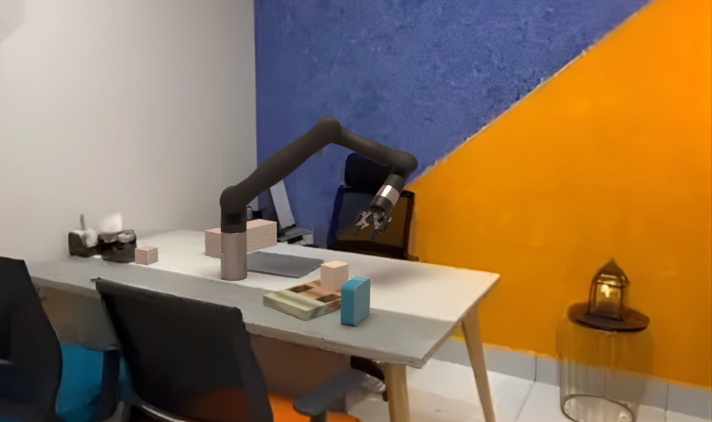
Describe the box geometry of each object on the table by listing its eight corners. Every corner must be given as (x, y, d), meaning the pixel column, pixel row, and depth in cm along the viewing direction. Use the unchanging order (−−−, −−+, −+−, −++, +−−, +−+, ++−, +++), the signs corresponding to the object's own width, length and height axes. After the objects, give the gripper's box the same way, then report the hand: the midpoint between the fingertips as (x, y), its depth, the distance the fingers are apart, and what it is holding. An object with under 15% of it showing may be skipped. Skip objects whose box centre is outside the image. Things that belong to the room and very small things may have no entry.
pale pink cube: (158, 261, 233) (157, 247, 232) (147, 265, 227) (147, 250, 226) (146, 260, 235) (145, 245, 234) (135, 263, 230) (134, 248, 229)
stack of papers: (259, 241, 270) (259, 218, 268) (276, 245, 264) (276, 222, 262) (205, 255, 244) (204, 230, 242) (223, 260, 238) (222, 234, 236)
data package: (356, 311, 182) (357, 274, 180) (369, 314, 181) (371, 276, 178) (340, 324, 171) (340, 285, 169) (354, 327, 170) (355, 287, 168)
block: (335, 283, 200) (335, 260, 199) (348, 287, 196) (348, 264, 195) (320, 287, 195) (320, 264, 194) (333, 291, 191) (333, 268, 190)
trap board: (321, 286, 206) (322, 278, 205) (364, 300, 193) (364, 291, 192) (263, 304, 187) (263, 295, 187) (305, 320, 174) (305, 311, 173)
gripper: (364, 192, 212) (342, 228, 205) (396, 196, 202) (373, 235, 196) (374, 204, 216) (352, 240, 210) (405, 209, 207) (383, 247, 201)
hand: (362, 237), depth 203 cm, fingers open, 7 cm apart
